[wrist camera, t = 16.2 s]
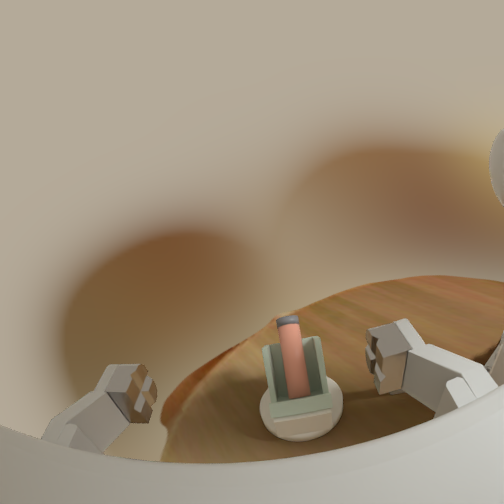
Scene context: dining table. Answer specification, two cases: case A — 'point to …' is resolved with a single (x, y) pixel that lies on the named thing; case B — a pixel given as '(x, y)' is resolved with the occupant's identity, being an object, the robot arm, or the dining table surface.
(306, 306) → the dining table surface
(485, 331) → the dining table surface
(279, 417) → the green holder stand
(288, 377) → the marker
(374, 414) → the dining table surface
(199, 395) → the dining table surface
